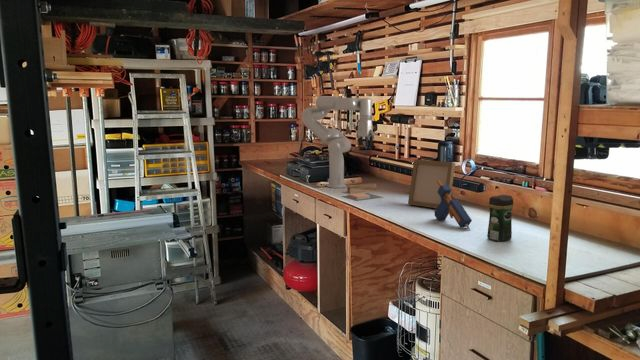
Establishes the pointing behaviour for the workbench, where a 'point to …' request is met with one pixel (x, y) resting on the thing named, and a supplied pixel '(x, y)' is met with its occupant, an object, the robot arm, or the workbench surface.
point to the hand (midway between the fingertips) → (365, 145)
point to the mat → (364, 198)
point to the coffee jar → (500, 218)
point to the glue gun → (451, 207)
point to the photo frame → (429, 182)
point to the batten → (361, 188)
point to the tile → (358, 196)
